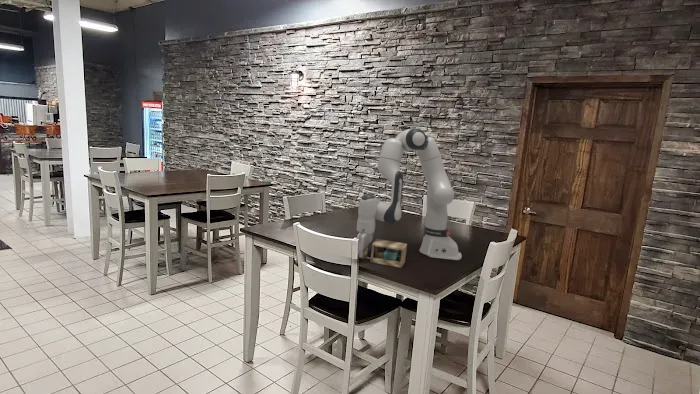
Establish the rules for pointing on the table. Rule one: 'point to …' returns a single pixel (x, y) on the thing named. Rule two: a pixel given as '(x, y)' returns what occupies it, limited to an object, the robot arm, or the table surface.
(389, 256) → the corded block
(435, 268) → the table surface
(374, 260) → the cubby shelf
